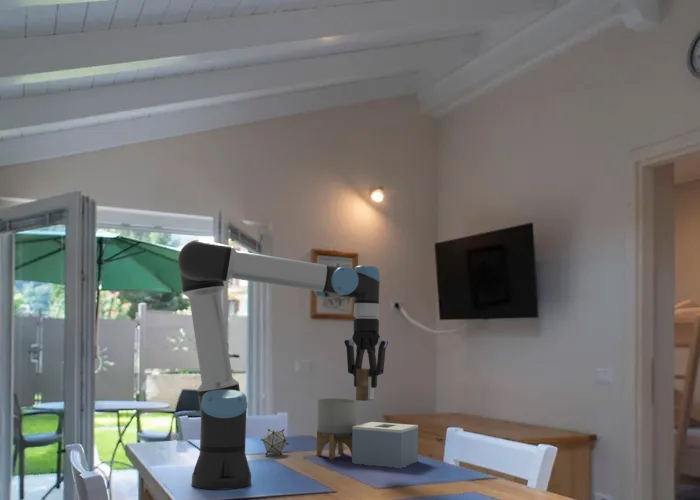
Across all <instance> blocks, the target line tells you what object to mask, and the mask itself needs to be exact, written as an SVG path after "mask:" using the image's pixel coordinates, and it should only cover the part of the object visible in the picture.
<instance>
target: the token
mask: <svg viewBox="0 0 700 500" xmlns="http://www.w3.org/2000/svg"><path fill="white" fill-rule="evenodd" d="M370 375H371V374H370V367H367V368H365V367H362V368H361V369H357V371H356V387H355V400H357V401H359V402H360V401H362V402H367V401H372V400H373V401H374V400H375V398H374V399H371V400H369V399H368V377H370Z"/></svg>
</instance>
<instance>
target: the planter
mask: <svg viewBox="0 0 700 500" xmlns="http://www.w3.org/2000/svg"><path fill="white" fill-rule="evenodd" d="M316 402H317V404H316V405H317V406H316V456H317V457H321V456H322V455H323V454H322V453H323V449H324V448H325V446H326V445H327V444H328V460H329V461H330V460H331V461H334V460H335V457H336V448H337V452H338V455H343V454H344V453H345V451H344V450H345V449H344V448H345V447H344V446H347V448H348V449H349V452H350V454H351V456H352V429H353V426H356V425H358V400H356V399H354V398H353V399H352V398H341V397H339V398H336V397H335V398H331V397H330V398H319V399H317V401H316Z"/></svg>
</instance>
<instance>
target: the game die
mask: <svg viewBox="0 0 700 500" xmlns="http://www.w3.org/2000/svg"><path fill="white" fill-rule="evenodd" d="M267 431H268V432H267V434H266V435H265V436H264V437H263V438H261V439H260V441H262V443H263V445H264V448H265V451H266V452H265V455H266V456H267V455H268V454H280V456H282V455H283V453H282V452H283V450H284V449H285V447H286V446H287V445H289V443H288V442H287V439H286V438H285V435H284V431H285V429H284V428H283V429H282V430H270V428H268V429H267Z"/></svg>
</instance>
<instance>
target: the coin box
mask: <svg viewBox="0 0 700 500" xmlns="http://www.w3.org/2000/svg"><path fill="white" fill-rule="evenodd" d="M418 461H419V425H418V424H405V423H393V422H392V423H391V422H390V423H389V422H379V421H377V422H376V421H370V422H369V421H368V422H365V423H361V424H357V425H356V426H353V429H352V455H351V464H352V463H353V464H355V465H362V464H364V465H365V466H372V465H377V466H376V467H382V466H388V467H387V468H392V467H397V468H396V469H403V468H405V467H404V466H406V467H407V465H408V466H410V465H412V464H411V463H413V464H414V462H415V463H418ZM409 464H410V465H409ZM402 467H403V468H402Z"/></svg>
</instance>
